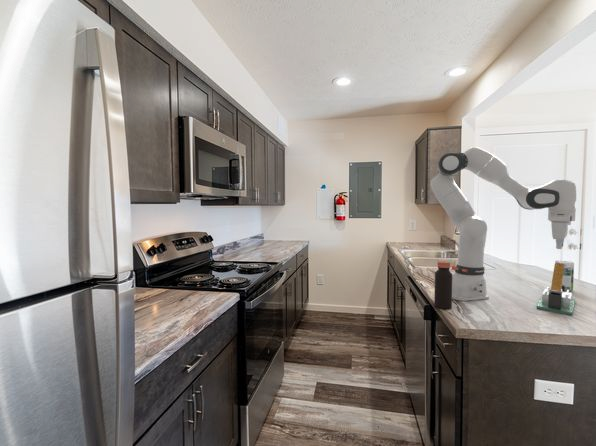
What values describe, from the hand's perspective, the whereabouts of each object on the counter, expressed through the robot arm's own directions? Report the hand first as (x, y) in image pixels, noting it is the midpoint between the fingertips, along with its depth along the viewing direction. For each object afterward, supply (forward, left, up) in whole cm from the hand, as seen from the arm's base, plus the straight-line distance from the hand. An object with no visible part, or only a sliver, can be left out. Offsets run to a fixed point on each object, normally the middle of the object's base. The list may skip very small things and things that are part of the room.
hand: (559, 247), depth 127 cm
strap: (-4, -1, -13) cm, 14 cm away
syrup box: (+29, +11, -25) cm, 40 cm away
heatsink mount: (-3, -1, -25) cm, 25 cm away
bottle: (-50, +18, -25) cm, 59 cm away
